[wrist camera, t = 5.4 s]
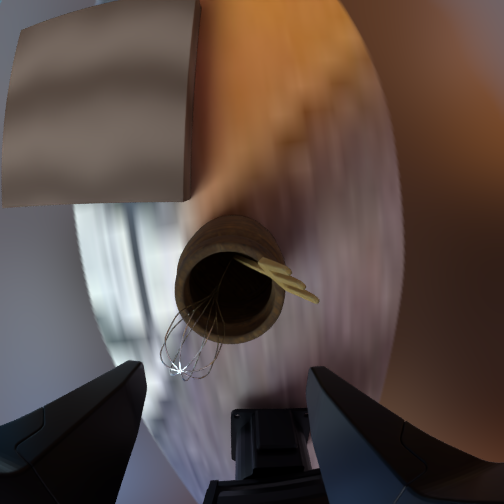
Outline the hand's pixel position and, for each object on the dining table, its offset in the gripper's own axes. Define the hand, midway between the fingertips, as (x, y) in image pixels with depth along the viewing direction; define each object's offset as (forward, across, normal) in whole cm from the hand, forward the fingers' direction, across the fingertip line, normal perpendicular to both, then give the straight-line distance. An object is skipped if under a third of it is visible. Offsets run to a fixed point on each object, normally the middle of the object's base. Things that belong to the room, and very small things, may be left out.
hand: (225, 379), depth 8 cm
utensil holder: (+13, 0, 0) cm, 13 cm away
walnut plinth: (+13, +10, -11) cm, 20 cm away
